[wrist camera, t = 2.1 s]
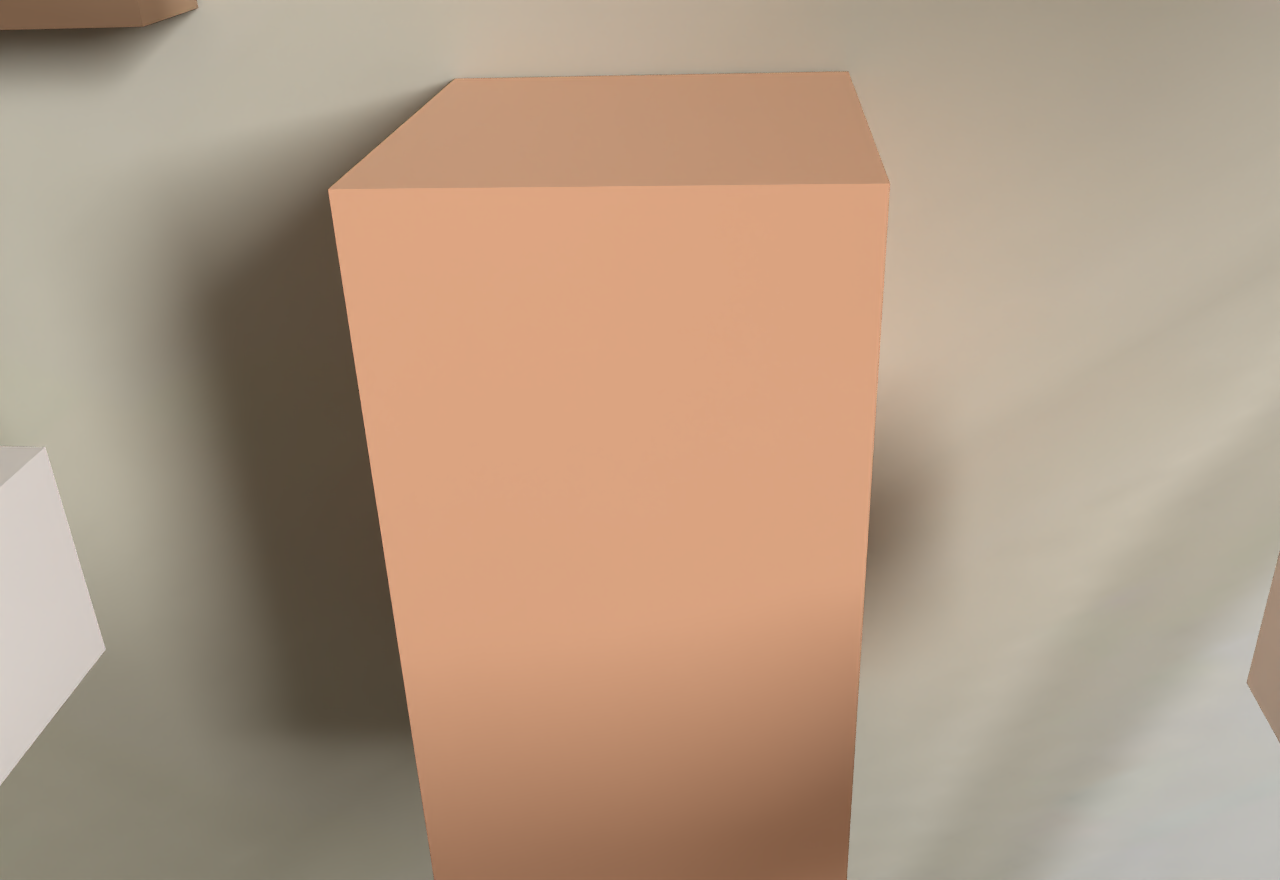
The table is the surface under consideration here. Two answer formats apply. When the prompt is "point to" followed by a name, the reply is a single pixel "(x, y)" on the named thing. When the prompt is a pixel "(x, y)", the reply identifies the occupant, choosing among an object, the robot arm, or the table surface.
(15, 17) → the pin board
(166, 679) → the table surface
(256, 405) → the table surface
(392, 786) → the table surface
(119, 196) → the table surface
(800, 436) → the block
